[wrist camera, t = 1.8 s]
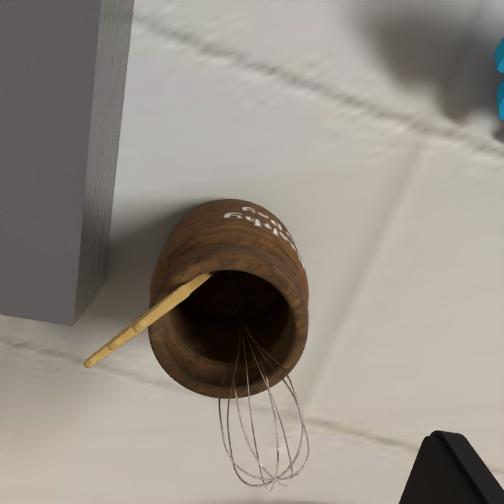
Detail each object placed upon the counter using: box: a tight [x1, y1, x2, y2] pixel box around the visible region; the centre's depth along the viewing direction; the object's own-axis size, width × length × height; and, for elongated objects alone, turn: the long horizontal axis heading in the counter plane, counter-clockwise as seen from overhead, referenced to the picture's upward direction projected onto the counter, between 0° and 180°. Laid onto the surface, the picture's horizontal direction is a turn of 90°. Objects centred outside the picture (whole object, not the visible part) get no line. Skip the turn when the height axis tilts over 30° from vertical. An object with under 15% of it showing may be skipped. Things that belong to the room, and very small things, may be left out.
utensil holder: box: [84, 199, 310, 491], centre depth 14 cm, size 6×6×12 cm
